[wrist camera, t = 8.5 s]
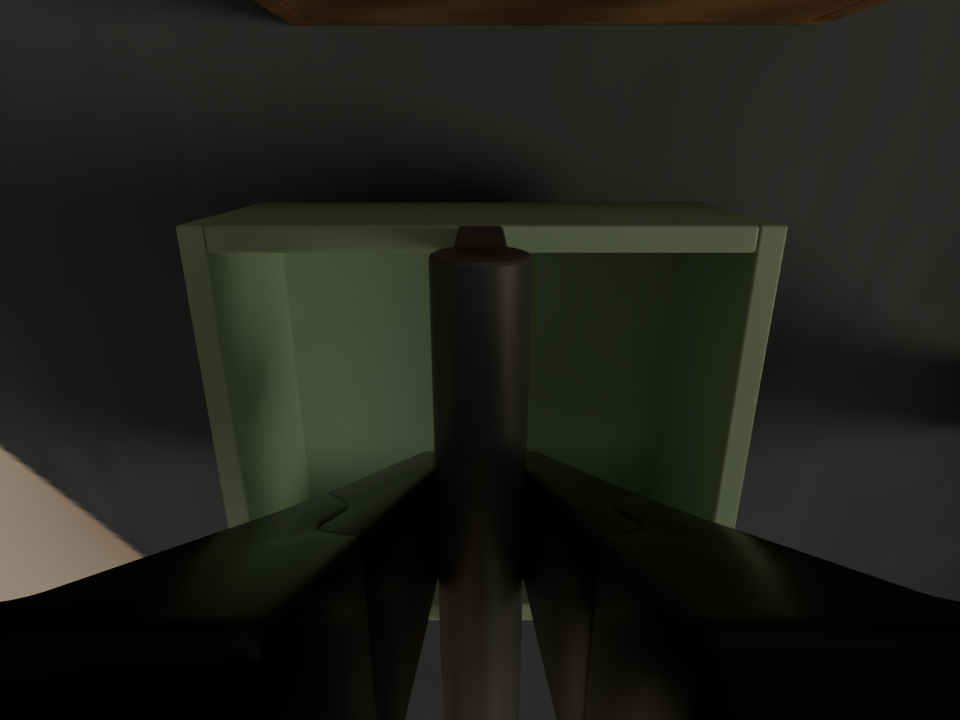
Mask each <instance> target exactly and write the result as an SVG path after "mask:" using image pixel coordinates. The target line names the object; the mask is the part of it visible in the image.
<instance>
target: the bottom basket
mask: <svg viewBox="0 0 960 720" xmlns="http://www.w3.org/2000/svg"><path fill="white" fill-rule="evenodd" d="M253 1H255V2H256V3H258V4H259V5H261V6H262V7H264V8H266V9H267V10H269V11H270V12H272V13H274V14H275V15H277V16H278V17H280V18H281V19H283V20H285V21H286V22H288V23H289V24H291V25H704V24H825V23H828V22H831V21H834V20H837V19H840V18H842V17H845V16H848V15H851V14H854V13H857V12H859V11H862V10H865V9H868V8H871V7H874V6H876V5H879V4H882V3H885V2H888V1H891V0H253Z"/></svg>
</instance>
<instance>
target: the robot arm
mask: <svg viewBox="0 0 960 720" xmlns="http://www.w3.org/2000/svg"><path fill="white" fill-rule="evenodd" d="M523 580H524V585H525V589H526V593H527V597H528V601H529V606H530V610H531V614H532V618H533V622H534V627H535V631H536V635H537V639H538V643H539V648H540V652H541V656H542V660H543V664H544V669H545V673H546V677H547V681H548V685H549V690H550V694H551V698H552V702H553V706H554V711H555V715H556V719H557V720H960V601H954V600H949V599H944V598H940V597H935V596H931V595H928V594H924V593H921V592H918V591H915V590H912V589H909V588H906V587H903V586H900V585H897V584H894V583H891V582H888V581H885V580H882V579H880V578H877V577H874V576H871V575H868V574H865V573H862V572H859V571H856V570H853V569H850V568H847V567H844V566H841V565H839V564H836V563H833V562H830V561H827V560H824V559H821V558H818V557H815V556H812V555H809V554H806V553H803V552H800V551H798V550H795V549H792V548H789V547H786V546H783V545H780V544H777V543H774V542H771V541H768V540H765V539H762V538H759V537H757V536H754V535H751V534H748V533H745V532H742V531H739V530H736V529H733V528H730V527H727V526H724V525H721V524H718V523H716V522H713V521H710V520H707V519H704V518H701V517H698V516H695V515H692V514H689V513H687V512H684V511H681V510H678V509H676V508H673V507H670V506H667V505H665V504H662V503H660V502H657V501H655V500H652V499H650V498H647V497H645V496H642V495H640V494H638V493H633V492H631V491H629V490H626V489H624V488H622V487H619V486H617V485H614V484H612V483H610V482H607V481H605V480H603V479H600V478H598V477H596V476H593V475H591V474H589V473H586V472H584V471H581V470H579V469H577V468H574V467H572V466H570V465H567V464H565V463H563V462H560V461H558V460H556V459H553V458H551V457H548V456H546V455H544V454H541V453H539V452H537V451H527V461H526V494H525V527H524V560H523ZM437 581H438V553H437V520H436V487H435V457H434V451H424V452H422V453H420V454H417V455H415V456H413V457H410V458H408V459H406V460H403V461H401V462H399V463H396V464H394V465H392V466H389V467H387V468H384V469H382V470H380V471H377V472H375V473H373V474H370V475H368V476H366V477H363V478H361V479H359V480H356V481H354V482H352V483H349V484H347V485H345V486H342V487H340V488H338V489H335V490H333V491H331V492H329V493H324V494H322V495H319V496H317V497H314V498H312V499H309V500H307V501H304V502H302V503H299V504H297V505H294V506H292V507H289V508H286V509H283V510H281V511H278V512H275V513H272V514H270V515H267V516H264V517H261V518H258V519H255V520H252V521H249V522H246V523H243V524H240V525H238V526H235V527H232V528H229V529H226V530H223V531H220V532H217V533H214V534H211V535H208V536H205V537H203V538H200V539H197V540H194V541H191V542H188V543H185V544H182V545H179V546H176V547H173V548H170V549H167V550H165V551H162V552H159V553H156V554H153V555H150V556H147V557H144V558H141V559H139V560H135V561H132V562H130V563H127V564H124V565H121V566H118V567H115V568H112V569H109V570H106V571H103V572H100V573H98V574H95V575H92V576H89V577H86V578H83V579H80V580H77V581H74V582H71V583H68V584H66V585H62V586H60V587H57V588H54V589H51V590H48V591H45V592H42V593H38V594H35V595H31V596H28V597H23V598H19V599H14V600H9V601H2V602H0V720H405V717H406V712H407V708H408V704H409V700H410V695H411V691H412V687H413V683H414V678H415V674H416V670H417V666H418V661H419V657H420V653H421V649H422V645H423V640H424V636H425V632H426V628H427V623H428V619H429V615H430V611H431V606H432V602H433V598H434V594H435V589H436V585H437Z"/></svg>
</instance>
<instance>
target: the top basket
mask: <svg viewBox="0 0 960 720" xmlns="http://www.w3.org/2000/svg"><path fill="white" fill-rule="evenodd" d="M176 232H177V238H178V244H179V249H180V255H181V261H182V266H183V272H184V278H185V284H186V289H187V295H188V301H189V306H190V312H191V318H192V323H193V329H194V335H195V340H196V346H197V352H198V358H199V363H200V369H201V375H202V380H203V386H204V392H205V397H206V403H207V409H208V415H209V420H210V426H211V432H212V437H213V443H214V449H215V454H216V460H217V466H218V471H219V477H220V483H221V489H222V494H223V500H224V506H225V511H226V517H227V523H228V528H232V527H235V526H238V525H240V524H243V523H246V522H249V521H252V520H255V519H258V518H261V517H264V516H267V515H270V514H272V513H275V512H278V511H281V510H283V509H286V508H289V507H292V506H294V505H297V504H299V503H302V502H304V501H307V500H309V499H312V498H314V497H317V496H319V495H322V494H324V493H329V492H331V491H333V490H335V489H338V488H340V487H342V486H345V485H347V484H349V483H352V482H354V481H356V480H359V479H361V478H363V477H366V476H368V475H370V474H373V473H375V472H377V471H380V470H382V469H384V468H387V467H389V466H392V465H394V464H396V463H399V462H401V461H403V460H406V459H408V458H410V457H413V456H415V455H417V454H420V453H422V452H424V451H434V457H435V487H436V520H437V553H438V581H437V585H436V589H435V594H434V598H433V602H432V606H431V611H430V615H429V619H428V620H440V651H441V683H442V715H443V720H519V695H520V661H521V628H522V620H533V618H532V614H531V610H530V606H529V601H528V597H527V593H526V589H525V585H524V580H523V560H524V527H525V494H526V461H527V451H537V452H539V453H541V454H544V455H546V456H548V457H551V458H553V459H556V460H558V461H560V462H563V463H565V464H567V465H570V466H572V467H574V468H577V469H579V470H581V471H584V472H586V473H589V474H591V475H593V476H596V477H598V478H600V479H603V480H605V481H607V482H610V483H612V484H614V485H617V486H619V487H622V488H624V489H626V490H629V491H631V492H633V493H638V494H640V495H642V496H645V497H647V498H650V499H652V500H655V501H657V502H660V503H662V504H665V505H667V506H670V507H673V508H676V509H678V510H681V511H684V512H687V513H689V514H692V515H695V516H698V517H701V518H704V519H707V520H710V521H713V522H716V523H718V524H721V525H724V526H727V527H730V528H733V529H735V524H736V518H737V512H738V507H739V501H740V495H741V490H742V484H743V478H744V473H745V467H746V461H747V456H748V450H749V444H750V439H751V433H752V427H753V421H754V416H755V410H756V404H757V399H758V393H759V387H760V382H761V376H762V370H763V365H764V359H765V353H766V348H767V342H768V336H769V331H770V325H771V319H772V313H773V308H774V302H775V296H776V291H777V285H778V279H779V274H780V268H781V262H782V257H783V251H784V245H785V240H786V234H787V226H786V225H783V224H780V223H776V222H772V221H768V220H765V219H761V218H757V217H754V216H750V215H746V214H742V213H739V212H735V211H731V210H728V209H724V208H720V207H717V206H713V205H709V204H705V203H702V202H262V203H259V204H255V205H251V206H248V207H244V208H240V209H237V210H233V211H229V212H225V213H222V214H218V215H214V216H211V217H207V218H203V219H199V220H196V221H192V222H188V223H185V224H181V225H178V226H176Z"/></svg>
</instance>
